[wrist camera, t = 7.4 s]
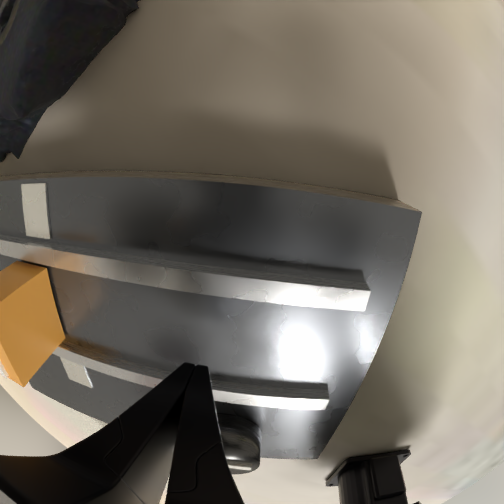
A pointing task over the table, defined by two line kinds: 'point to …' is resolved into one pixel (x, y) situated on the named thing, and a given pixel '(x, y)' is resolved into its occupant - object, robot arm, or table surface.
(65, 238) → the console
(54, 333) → the block
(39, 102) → the dark slate chunk
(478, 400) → the table surface
